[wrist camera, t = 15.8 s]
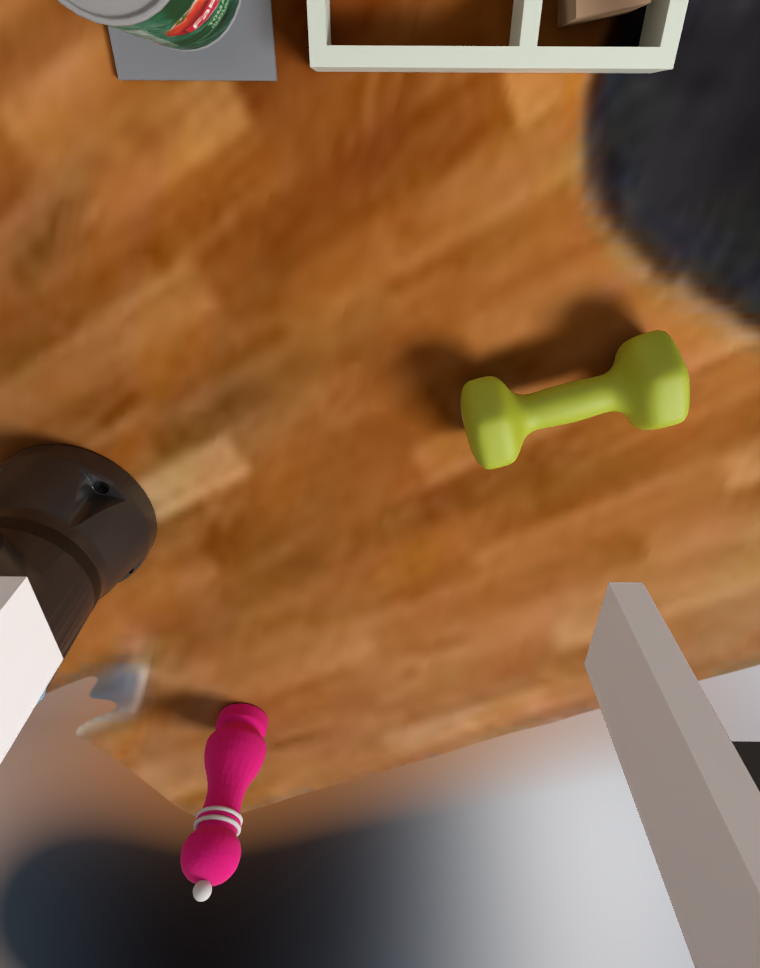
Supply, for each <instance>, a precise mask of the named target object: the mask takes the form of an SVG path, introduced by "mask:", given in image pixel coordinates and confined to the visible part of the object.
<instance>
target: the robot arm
mask: <svg viewBox="0 0 760 968" xmlns="http://www.w3.org/2000/svg"><path fill="white" fill-rule="evenodd" d="M156 530H157V523H156V517H155V513H154V509H153V507H152V504H151V502H150V500H149V498H148V497H147V495H146V493H145V492H144V491H143V489H142V488H141V487H140V485H139V484H138V483H137V482H136V481H135V480H134V479H133V478H132V477H131V476H130V475H129V474H128V473H127V472H125V471H124V470H123V469H121V468H120V467H119V466H117V465H116V464H114V463H113V462H111V461H109V460H107V459H106V458H104V457H102V456H100V455H97V454H95V453H93V452H90V451H87V450H84V449H80V448H77V447H72V446H66V445H55V444H49V445H38V446H33V447H29V448H26V449H23V450H21V451H18V452H17V453H15V454H13V455H12V456H10V457H9V458H8V459H7V460H6V461H5V462H3V463H2V464H1V465H0V764H1V762H2V760H3V759H4V757H5V755H6V754H7V752H8V750H9V749H10V747H11V745H12V744H13V742H14V740H15V739H16V736H17V735H18V734H19V732H20V730H21V729H22V727H23V725H24V724H25V722H26V720H27V719H28V717H29V715H30V714H31V712H32V710H33V709H34V707H35V705H36V704H37V703H38V702H40V701H41V699H42V698H43V697H44V695H45V692H46V689H47V687H48V686H49V684H50V682H51V680H52V679H53V677H54V675H55V674H56V672H57V670H58V668H59V667H60V665H61V663H62V661H63V660H64V658H65V656H66V655H67V653H68V651H69V649H70V648H71V646H72V644H73V642H74V641H75V639H76V637H77V636H78V634H79V632H80V630H81V629H82V627H83V625H84V624H85V622H86V620H87V618H88V617H89V615H90V613H91V611H92V610H93V608H94V607H95V605H96V603H97V602H98V600H99V599H100V598H101V597H103V596H104V595H105V594H106V593H108V592H109V591H110V590H111V589H112V588H113V587H114V586H115V585H116V584H117V583H118V582H121V581H122V580H124V579H126V578H127V577H129V576H130V575H131V574H133V573H134V572H135V571H136V570H137V569H138V568H139V567H140V565H141V564H142V563H143V561H144V560H145V558H146V556H147V555H148V553H149V551H150V549H151V547H152V545H153V543H154V541H155V537H156ZM584 665H585V668H586V670H587V673H588V676H589V679H590V681H591V684H592V687H593V690H594V692H595V695H596V698H597V700H598V703H599V706H600V709H601V711H602V714H603V717H604V719H605V722H606V725H607V728H608V730H609V733H610V736H611V739H612V742H613V744H614V747H615V750H616V752H617V755H618V758H619V761H620V763H621V766H622V769H623V772H624V774H625V777H626V780H627V783H628V785H629V788H630V791H631V794H632V796H633V799H634V802H635V804H636V807H637V810H638V812H639V815H640V818H641V821H642V823H643V826H644V829H645V832H646V835H647V837H648V840H649V842H650V845H651V848H652V851H653V854H654V856H655V859H656V862H657V865H658V867H659V870H660V873H661V876H662V878H663V881H664V884H665V887H666V889H667V892H668V895H669V897H670V900H671V903H672V906H673V908H674V911H675V914H676V917H677V919H678V922H679V925H680V928H681V930H682V933H683V936H684V938H685V941H686V944H687V946H688V949H689V952H690V955H691V958H692V960H693V963H694V966H695V968H760V742H733V741H731V740H730V738H729V736H728V734H727V732H726V731H725V729H724V727H723V725H722V723H721V722H720V720H719V718H718V716H717V714H716V713H715V711H714V709H713V707H712V706H711V704H710V702H709V700H708V698H707V697H706V695H705V693H704V691H703V689H702V688H701V686H700V684H699V682H698V680H697V679H696V677H695V675H694V673H693V671H692V670H691V668H690V666H689V664H688V662H687V661H686V659H685V657H684V655H683V654H682V652H681V650H680V648H679V646H678V645H677V643H676V641H675V639H674V637H673V636H672V634H671V632H670V630H669V628H668V627H667V625H666V623H665V621H664V619H663V618H662V616H661V614H660V612H659V610H658V609H657V607H656V605H655V603H654V602H653V600H652V598H651V596H650V594H649V593H648V591H647V589H646V587H645V585H644V584H643V583H634V582H609V583H608V587H607V590H606V593H605V597H604V600H603V603H602V607H601V610H600V613H599V617H598V620H597V623H596V627H595V630H594V633H593V637H592V640H591V643H590V647H589V650H588V653H587V657H586V660H585V663H584Z"/></svg>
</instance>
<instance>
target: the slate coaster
mask: <svg viewBox="0 0 760 968" xmlns="http://www.w3.org/2000/svg"><path fill="white" fill-rule="evenodd" d="M108 30H109V35H110V40H111V45H112V50H113V55H114V60H115V64H116V69H117V74H118V79H119V80H170V81H278V80H277V67H276V54H275V41H274V28H273V15H272V2H271V0H241V5H240V8H239V11H238V14H237V16H236V19H235V21H234V22H233V24H232V26H231V27H230V29H229V31H228V32H227V33H226V34H225V35H224V36H223V37H222V38H221V39H220V40H219V41H218V42H216V43H215V44H213V45H212V46H210V47H208V48H205V49H202V50H199V51H192V52H182V51H177V50H171V49H169V48H167V47H164V46H162V45H160V44H157V43H154V42H151V41H148V40H146V39H142V38H140V37H137V36H134V35H131V34H129V33H126V32H123V31H121V30H117V29H115V28H111V27H109V26H108Z"/></svg>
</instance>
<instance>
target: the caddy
mask: <svg viewBox="0 0 760 968" xmlns="http://www.w3.org/2000/svg"><path fill="white" fill-rule="evenodd" d="M688 1H689V0H651V3H649V4H647V7H646V12H645V17H644V22H643V27H642V32H641V37H640V42H639V47H559V46H537V42H538V34H539V26H540V18H541V10H542V2H543V0H514V1H513V11H512V21H511V30H510V40H509V46H352V45H331V24H330V0H307V17H308V37H309V57H310V67H311V68H312V69H313V70H315V71H316V72H503V73H653V72H659V71H664V70H669V69H673V66H674V62H675V57H676V53H677V49H678V44H679V40H680V36H681V31H682V27H683V23H684V18H685V14H686V9H687V5H688Z"/></svg>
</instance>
